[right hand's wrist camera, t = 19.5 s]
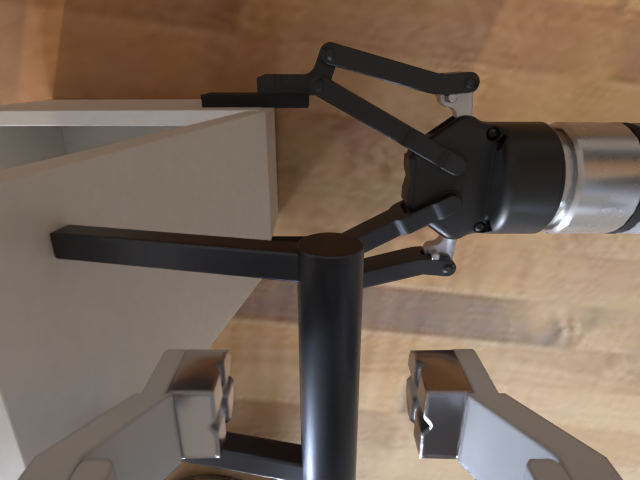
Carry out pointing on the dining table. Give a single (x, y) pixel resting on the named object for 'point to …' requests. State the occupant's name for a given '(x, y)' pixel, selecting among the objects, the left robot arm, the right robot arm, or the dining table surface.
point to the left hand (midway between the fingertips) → (213, 178)
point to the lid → (165, 290)
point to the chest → (109, 128)
